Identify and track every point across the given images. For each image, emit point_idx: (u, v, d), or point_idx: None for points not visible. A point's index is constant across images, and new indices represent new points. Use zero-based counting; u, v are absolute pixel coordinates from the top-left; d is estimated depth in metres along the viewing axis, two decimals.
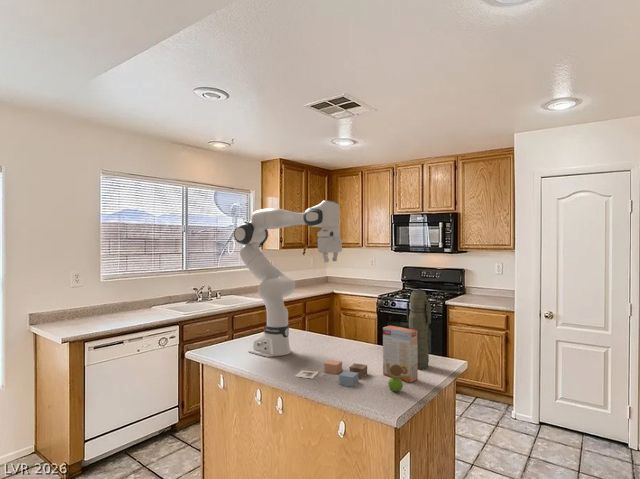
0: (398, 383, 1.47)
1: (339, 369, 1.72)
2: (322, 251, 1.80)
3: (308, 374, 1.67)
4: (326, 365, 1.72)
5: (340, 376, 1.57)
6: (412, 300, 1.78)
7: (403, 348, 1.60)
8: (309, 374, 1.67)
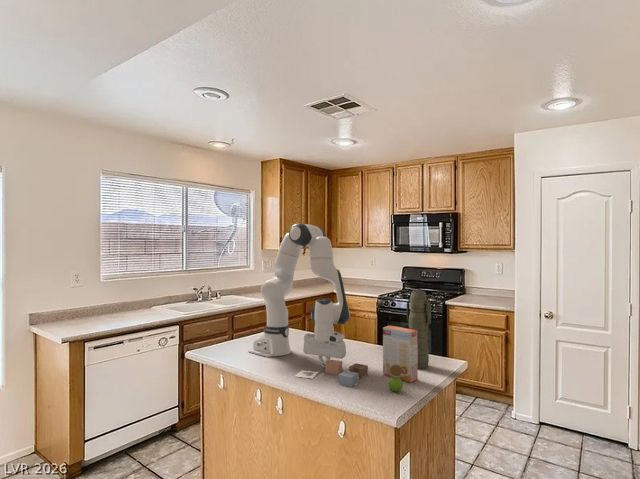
0: (398, 383, 1.47)
1: (340, 369, 1.72)
2: (344, 356, 1.71)
3: (308, 374, 1.67)
4: (327, 365, 1.71)
5: (339, 376, 1.57)
6: (412, 300, 1.78)
7: (403, 348, 1.60)
8: (309, 374, 1.67)
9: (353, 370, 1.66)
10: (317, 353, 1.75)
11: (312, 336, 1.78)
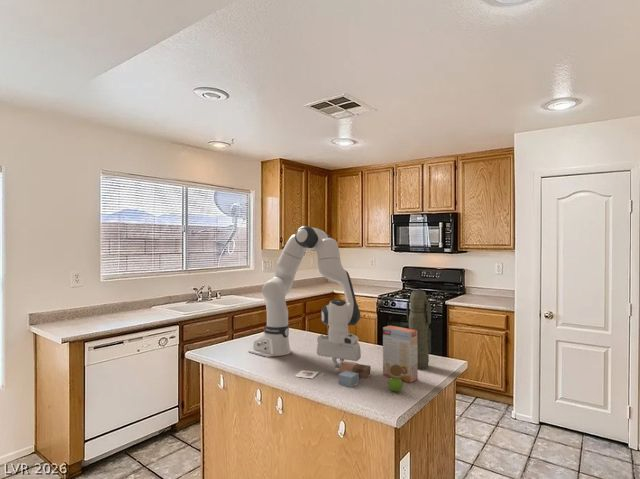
0: (398, 383, 1.47)
1: None
2: (359, 358, 1.68)
3: (308, 374, 1.67)
4: (342, 367, 1.69)
5: (339, 376, 1.57)
6: (412, 300, 1.78)
7: (403, 348, 1.60)
8: (309, 374, 1.67)
9: (357, 371, 1.65)
10: (331, 355, 1.72)
11: (326, 338, 1.75)
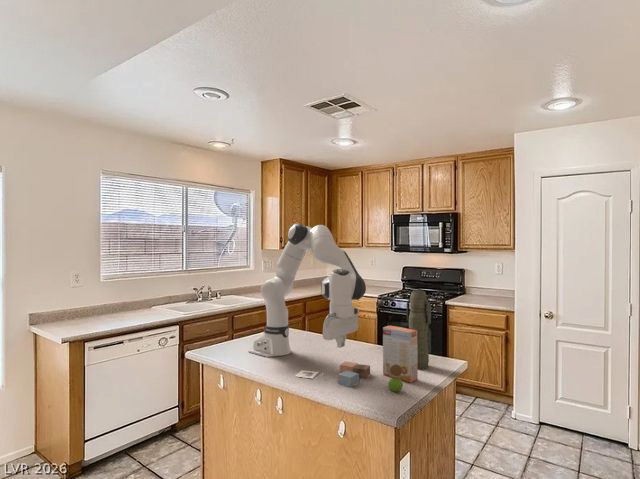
0: (398, 383, 1.47)
1: None
2: None
3: (308, 374, 1.67)
4: (342, 367, 1.69)
5: (339, 375, 1.57)
6: (412, 300, 1.78)
7: (403, 348, 1.60)
8: (309, 374, 1.67)
9: (357, 371, 1.65)
10: (341, 334, 1.48)
11: (333, 316, 1.46)
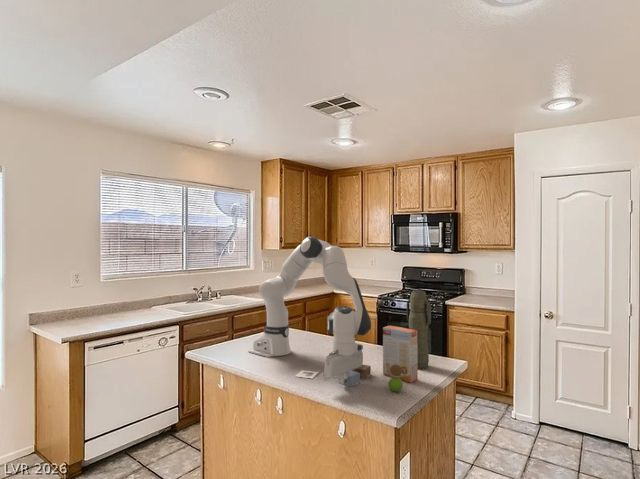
0: (398, 383, 1.47)
1: None
2: None
3: (308, 374, 1.67)
4: None
5: None
6: (412, 300, 1.78)
7: (403, 348, 1.60)
8: (309, 374, 1.67)
9: (357, 371, 1.65)
10: (343, 371, 1.51)
11: (335, 354, 1.50)
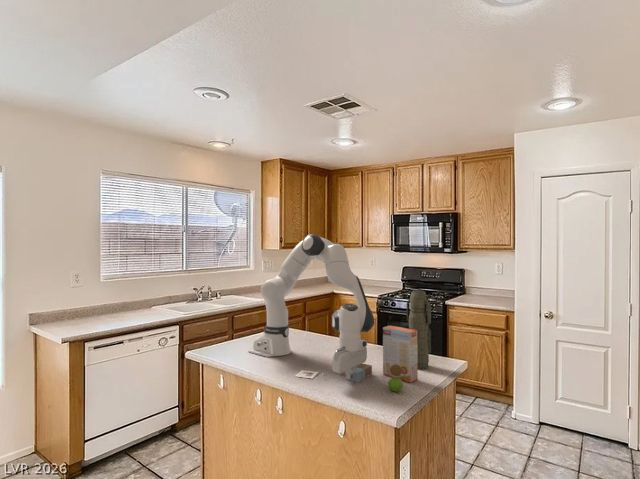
0: (398, 383, 1.47)
1: None
2: None
3: (308, 374, 1.67)
4: None
5: None
6: (412, 300, 1.78)
7: (403, 348, 1.60)
8: (309, 374, 1.67)
9: None
10: (350, 366, 1.56)
11: (342, 350, 1.55)
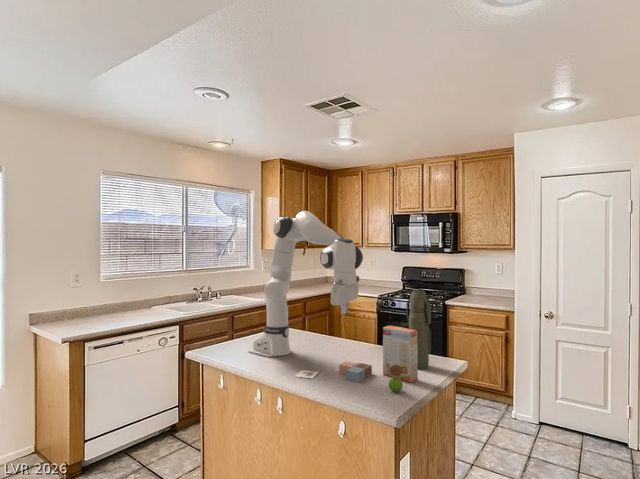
0: (398, 383, 1.47)
1: None
2: None
3: (308, 374, 1.67)
4: (341, 366, 1.70)
5: (347, 371, 1.62)
6: (412, 300, 1.78)
7: (403, 348, 1.60)
8: (309, 374, 1.67)
9: None
10: (346, 300, 1.52)
11: (340, 283, 1.49)
